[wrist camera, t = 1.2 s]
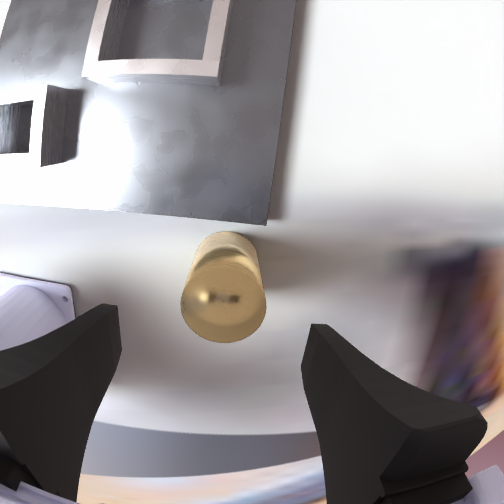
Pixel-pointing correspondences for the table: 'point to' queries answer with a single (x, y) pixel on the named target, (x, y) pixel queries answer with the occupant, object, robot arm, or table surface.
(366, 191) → the table surface
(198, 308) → the pipe stub
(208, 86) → the socket plate
